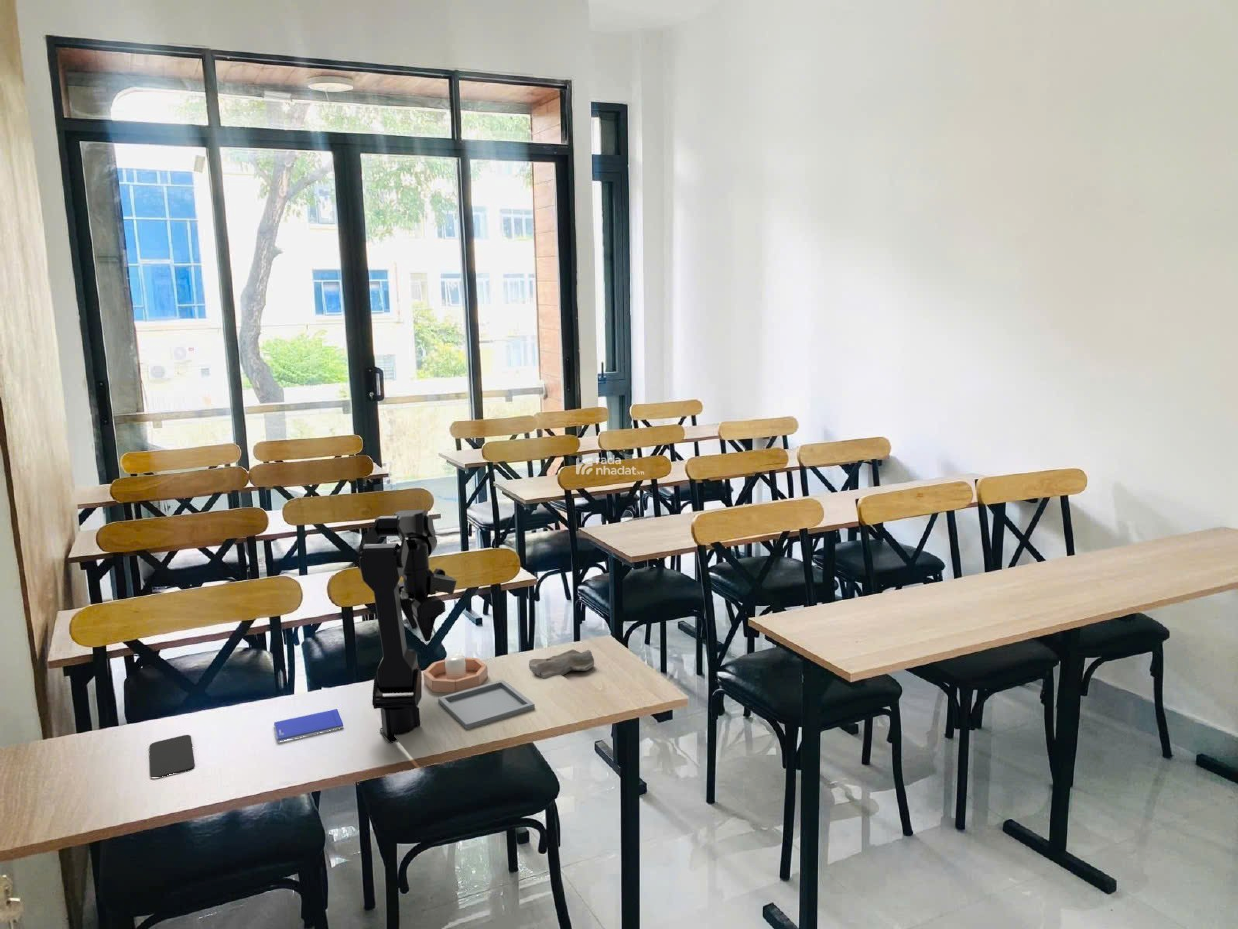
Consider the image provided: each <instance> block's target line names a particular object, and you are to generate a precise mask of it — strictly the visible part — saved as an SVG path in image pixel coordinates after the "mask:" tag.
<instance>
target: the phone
mask: <svg viewBox="0 0 1238 929" xmlns="http://www.w3.org/2000/svg"><path fill="white" fill-rule="evenodd" d="M192 747H194V746H193V741H192V736H191V735H190V734H184V735H180V736H174V737H171V738H167V739H162V740H157V741H155V742H152V743H151V744H150V745H149V750H150V751H149V753H150V755H149V771H150V772H149V773H150V774H149V775H150V778H151V777H162V776H166V777H168V776H167V775H169V774H173V773H178V774H181V772H182V773H185V771H186V772H188V770H189V771H192V770H193V769H195V767H196V764H195V757H194V750H193V748H192ZM149 753H148V754H149ZM162 778H163V777H162Z"/></svg>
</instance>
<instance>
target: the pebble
mask: <svg viewBox="0 0 1238 929" xmlns="http://www.w3.org/2000/svg"><path fill="white" fill-rule="evenodd" d="M465 657H466V656H465V655H463V654H456V653H455V654H451V655H448V656H446V657H445V658H444V660H445V667H446V679H450V680H457V679H460V678H464V677H466V663H465Z"/></svg>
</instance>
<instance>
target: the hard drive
mask: <svg viewBox="0 0 1238 929" xmlns="http://www.w3.org/2000/svg"><path fill="white" fill-rule="evenodd" d="M274 726H275V727H274ZM273 727H274V732H275V731H276V732H275V736H276V740H278V741H277V743H278V742H280V741H284V740H287V739H295V738H300V737H303V736H308V737H311V736H310V735H313V736H315V735H314V734H317V733H320V732H326V733H328V732H327V731H329V730H333V729H339V728H343V729H344V724H343V721H342V717H341V714H340V713H339V710H338V708H335V709H330V710H326V711H322V712H316V713H311V714H307V715H303V716H297V717H293V718H292V717H291V718H289V719H288V718H287V719H284V720H280V721H274V722H273ZM339 730H340V729H339ZM317 735H318V734H317ZM300 739H301V738H300ZM295 740H296V739H295Z"/></svg>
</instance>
